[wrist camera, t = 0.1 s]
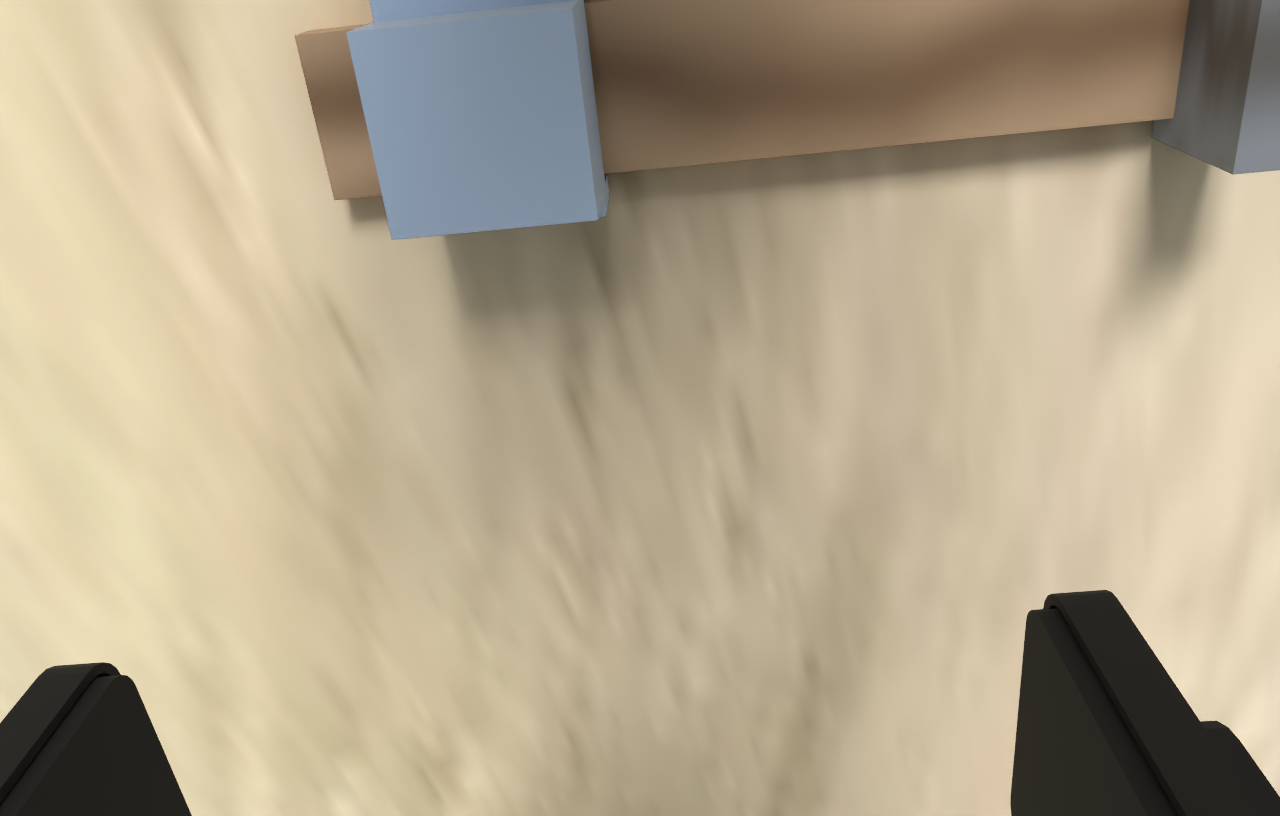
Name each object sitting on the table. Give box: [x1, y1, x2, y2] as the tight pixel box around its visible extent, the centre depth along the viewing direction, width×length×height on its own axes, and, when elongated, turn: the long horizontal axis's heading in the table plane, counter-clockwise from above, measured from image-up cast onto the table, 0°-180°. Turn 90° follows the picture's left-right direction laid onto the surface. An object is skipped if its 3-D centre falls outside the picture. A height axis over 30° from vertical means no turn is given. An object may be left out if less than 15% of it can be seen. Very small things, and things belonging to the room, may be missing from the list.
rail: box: [295, 0, 1280, 200], centre depth 34 cm, size 8×34×6 cm, turn 96°
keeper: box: [346, 0, 609, 240], centre depth 34 cm, size 8×7×6 cm
